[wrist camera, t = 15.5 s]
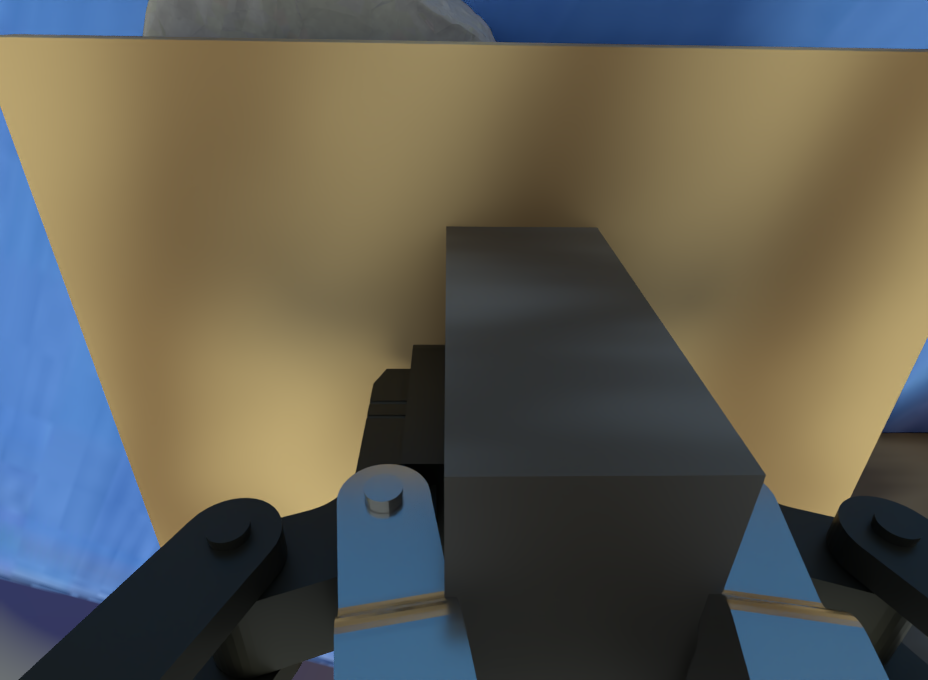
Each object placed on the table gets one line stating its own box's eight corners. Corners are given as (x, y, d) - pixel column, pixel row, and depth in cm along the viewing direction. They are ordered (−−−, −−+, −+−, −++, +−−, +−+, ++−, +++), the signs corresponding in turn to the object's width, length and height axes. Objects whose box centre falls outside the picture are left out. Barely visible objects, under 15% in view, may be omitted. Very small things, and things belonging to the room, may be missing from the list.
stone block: (512, 17, 20) (205, -168, 16) (555, 43, 16) (166, -192, 12) (378, 292, 25) (126, 208, 21) (387, 360, 22) (81, 274, 17)
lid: (1014, 50, 11) (2005, 123, 4) (809, 515, 17) (1055, 861, 10) (14, 34, 10) (-857, 84, 3) (176, 520, 17) (-20, 888, 10)
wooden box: (1014, 432, 27) (1352, 685, 17) (872, 659, 36) (1037, 912, 26) (546, 433, 26) (605, 695, 16) (521, 663, 35) (549, 923, 25)
